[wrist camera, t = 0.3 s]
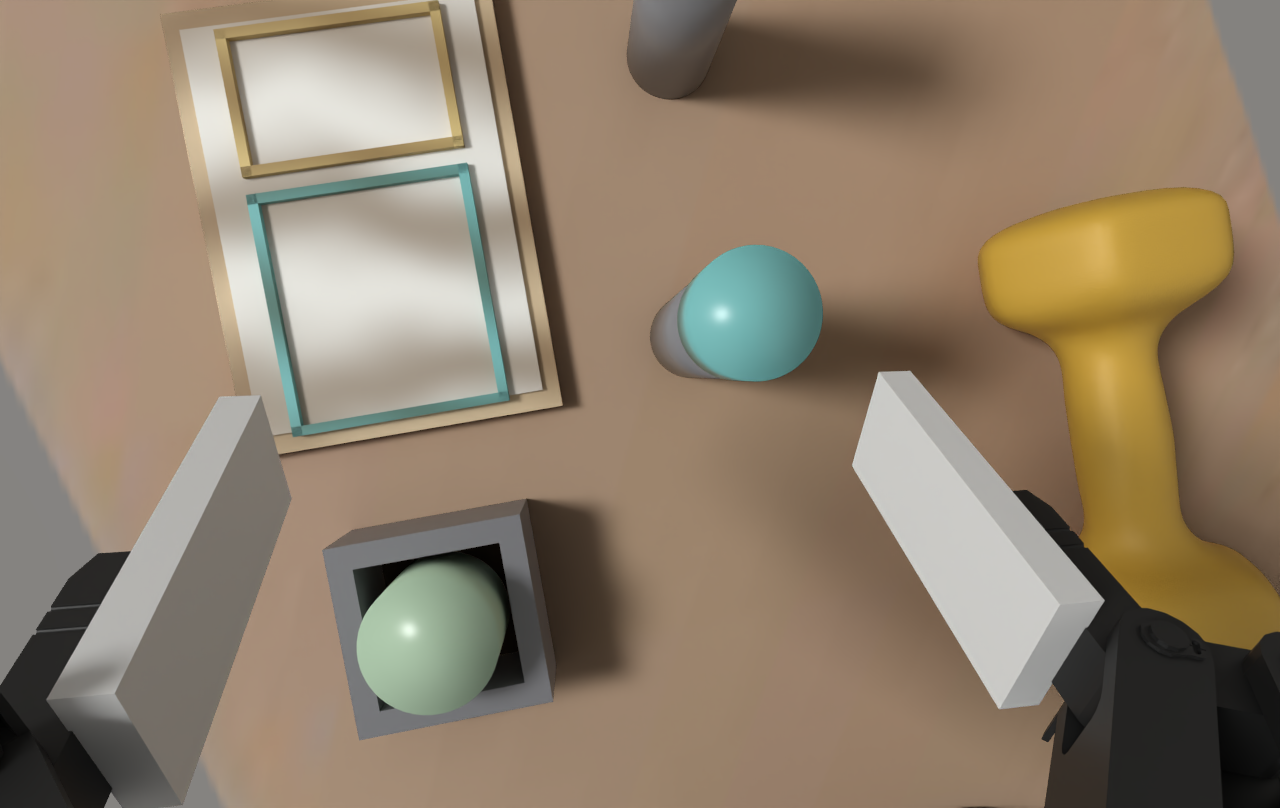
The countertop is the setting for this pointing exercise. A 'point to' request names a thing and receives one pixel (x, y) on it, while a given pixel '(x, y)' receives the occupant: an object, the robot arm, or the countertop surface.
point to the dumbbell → (1130, 387)
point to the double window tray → (363, 213)
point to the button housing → (367, 549)
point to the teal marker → (741, 318)
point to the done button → (434, 634)
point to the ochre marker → (674, 43)
